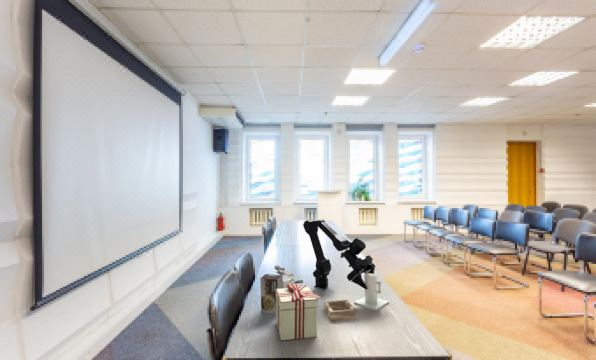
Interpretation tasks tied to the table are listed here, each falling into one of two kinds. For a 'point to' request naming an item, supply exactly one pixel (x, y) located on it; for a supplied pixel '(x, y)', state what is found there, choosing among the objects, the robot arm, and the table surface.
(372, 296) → the white tall cylinder
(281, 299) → the gift box
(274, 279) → the coffee box
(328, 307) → the collar
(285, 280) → the white cup
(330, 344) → the table surface
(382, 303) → the pad
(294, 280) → the gun
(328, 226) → the robot arm
